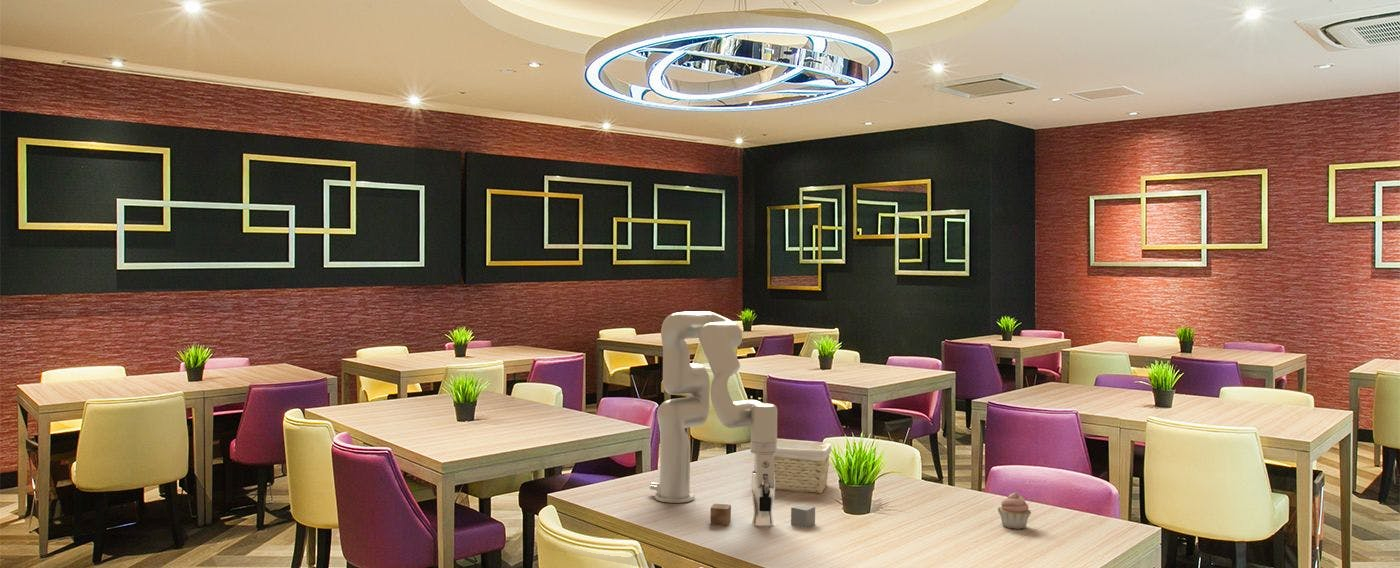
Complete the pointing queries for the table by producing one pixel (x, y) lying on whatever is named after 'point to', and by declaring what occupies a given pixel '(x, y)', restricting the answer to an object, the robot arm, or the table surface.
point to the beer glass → (759, 516)
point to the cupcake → (1014, 512)
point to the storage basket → (801, 465)
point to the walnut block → (720, 514)
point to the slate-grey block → (802, 515)
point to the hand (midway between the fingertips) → (762, 506)
